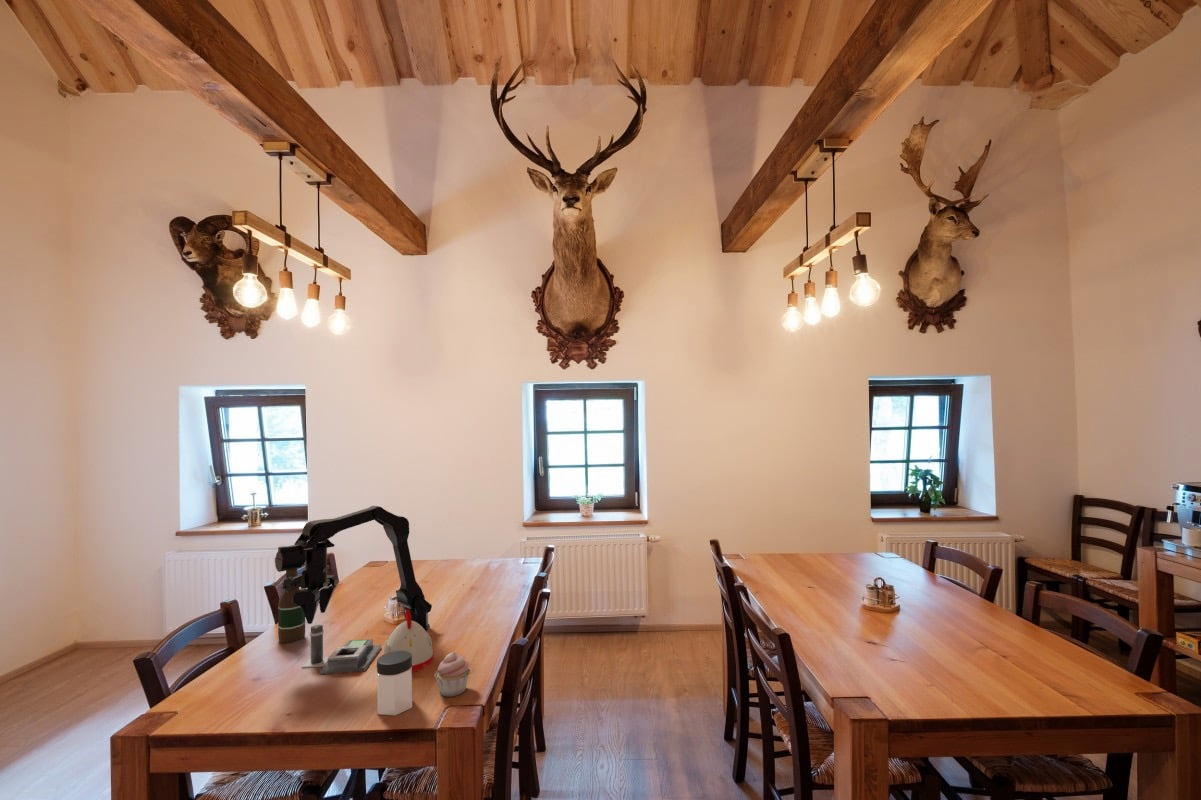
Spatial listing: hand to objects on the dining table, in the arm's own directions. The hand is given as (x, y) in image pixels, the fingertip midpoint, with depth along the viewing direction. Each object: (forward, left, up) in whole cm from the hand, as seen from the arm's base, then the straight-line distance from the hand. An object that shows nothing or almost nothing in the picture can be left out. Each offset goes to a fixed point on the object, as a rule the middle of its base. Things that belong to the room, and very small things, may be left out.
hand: (316, 618), depth 163 cm
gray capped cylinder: (0, 0, -13) cm, 13 cm away
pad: (0, 0, -13) cm, 13 cm away
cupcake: (-43, +24, -13) cm, 51 cm away
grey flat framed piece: (-10, 0, -13) cm, 16 cm away
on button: (-10, -5, -12) cm, 16 cm away
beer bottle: (+16, -21, -13) cm, 30 cm away
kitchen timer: (-27, +4, -13) cm, 30 cm away
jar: (-30, +30, -13) cm, 44 cm away
